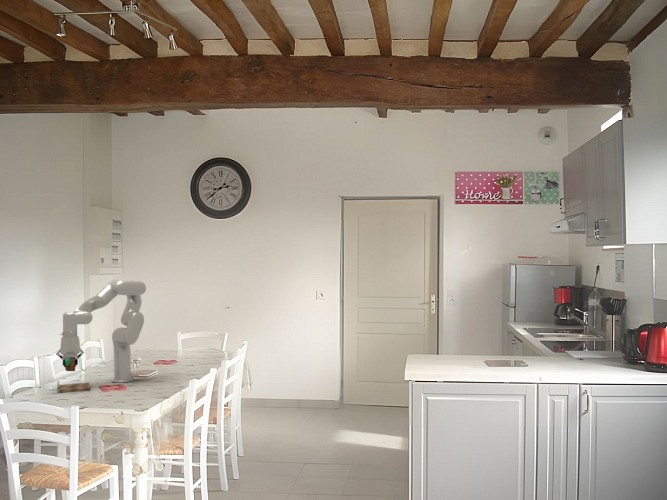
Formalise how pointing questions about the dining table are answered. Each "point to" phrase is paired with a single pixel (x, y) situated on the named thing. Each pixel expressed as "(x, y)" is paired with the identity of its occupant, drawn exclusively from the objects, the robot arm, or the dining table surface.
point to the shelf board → (72, 387)
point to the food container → (70, 361)
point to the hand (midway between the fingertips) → (70, 366)
